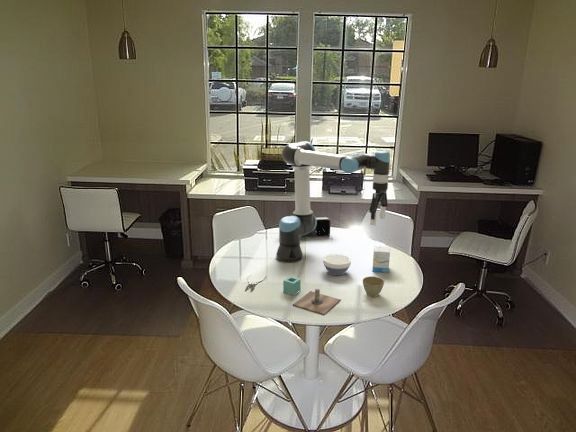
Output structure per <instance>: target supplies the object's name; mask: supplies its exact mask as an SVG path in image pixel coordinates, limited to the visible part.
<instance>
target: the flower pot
mask: <svg viewBox="0 0 576 432" xmlns="http://www.w3.org/2000/svg"><path fill="white" fill-rule="evenodd" d="M384 285H385V280H384V279H383V278H381V277H379V276H372V275H371V276H366V277H363V279H362V287H363V288H364V292H365V293H366V294H367V296H368V297H371V298H372V297H373V298H375V297H378V295H380V293H381V292H382V290H383V287H384Z"/></svg>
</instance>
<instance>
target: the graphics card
mask: <svg viewBox="0 0 576 432" xmlns="http://www.w3.org/2000/svg"><path fill="white" fill-rule="evenodd" d="M284 217H285V215H284V214H283V215H282V218H284ZM316 220H317V225H316V228H315V229H314V230H313V231H312V232H310V233H308V234H306V235H303V236H301V237H300V239H301V238H324V237H326V238H328V237H330V235H331V219H330V218H329V217H316Z"/></svg>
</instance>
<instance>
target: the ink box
mask: <svg viewBox="0 0 576 432" xmlns="http://www.w3.org/2000/svg"><path fill="white" fill-rule="evenodd" d="M390 250H391V248H390V247H389V246H388V247H387V246H380V245H379V246H376V245H375V246H374V247H373V255H372V256H373V259H372V272H374V273H375V272H376V273H389V271H390V269H389V268H390V256H391V251H390Z"/></svg>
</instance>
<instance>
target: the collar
mask: <svg viewBox="0 0 576 432" xmlns="http://www.w3.org/2000/svg"><path fill="white" fill-rule="evenodd" d="M282 283H283V285H282V286H283V287H282V289H283V290H282V291H283V293H285V292H286V293H285V294H288V293H290V294H289V295H292V294H293V296H295V295H296V294H298V293H299V292H300V291H301V286H302V285H301V278H297V277H295V276H290V275H289V276H288V277H287V278H285V279H283V281H282ZM298 291H299V292H298ZM297 292H298V293H297ZM294 294H295V295H294Z"/></svg>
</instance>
